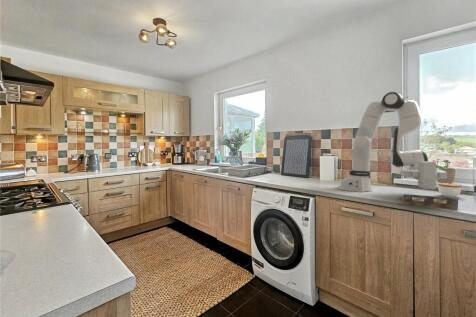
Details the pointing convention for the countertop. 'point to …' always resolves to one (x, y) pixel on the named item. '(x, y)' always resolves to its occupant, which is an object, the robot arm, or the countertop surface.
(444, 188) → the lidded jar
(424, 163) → the skincare box
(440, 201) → the shelf
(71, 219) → the countertop surface
